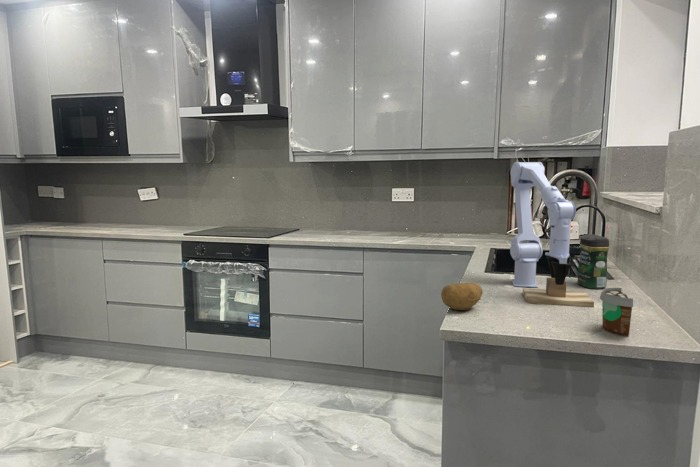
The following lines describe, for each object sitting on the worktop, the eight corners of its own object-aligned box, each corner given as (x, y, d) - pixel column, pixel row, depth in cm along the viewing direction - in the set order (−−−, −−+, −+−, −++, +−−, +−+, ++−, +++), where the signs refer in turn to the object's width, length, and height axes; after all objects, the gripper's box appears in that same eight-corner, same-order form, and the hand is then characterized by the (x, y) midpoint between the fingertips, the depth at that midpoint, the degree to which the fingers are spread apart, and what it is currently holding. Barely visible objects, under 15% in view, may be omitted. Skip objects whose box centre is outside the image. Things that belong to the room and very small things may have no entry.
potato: (491, 309, 143) (492, 283, 142) (455, 316, 136) (456, 289, 135) (468, 301, 151) (469, 277, 150) (433, 308, 144) (433, 282, 143)
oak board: (522, 292, 162) (522, 288, 162) (583, 296, 158) (583, 291, 158) (527, 303, 150) (527, 298, 149) (593, 307, 145) (594, 302, 145)
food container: (593, 321, 132) (595, 285, 131) (618, 323, 130) (621, 287, 129) (602, 335, 120) (605, 297, 119) (630, 338, 119) (633, 299, 117)
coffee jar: (573, 283, 175) (576, 233, 173) (593, 282, 176) (597, 232, 174) (588, 290, 166) (592, 237, 163) (610, 289, 167) (614, 236, 164)
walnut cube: (545, 292, 157) (546, 277, 156) (562, 293, 156) (563, 278, 155) (548, 296, 152) (549, 281, 151) (565, 297, 151) (566, 281, 150)
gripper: (542, 236, 159) (540, 275, 161) (550, 242, 145) (547, 286, 147) (565, 236, 157) (562, 277, 159) (575, 243, 143) (572, 287, 145)
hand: (557, 281), depth 153 cm, fingers open, 7 cm apart
